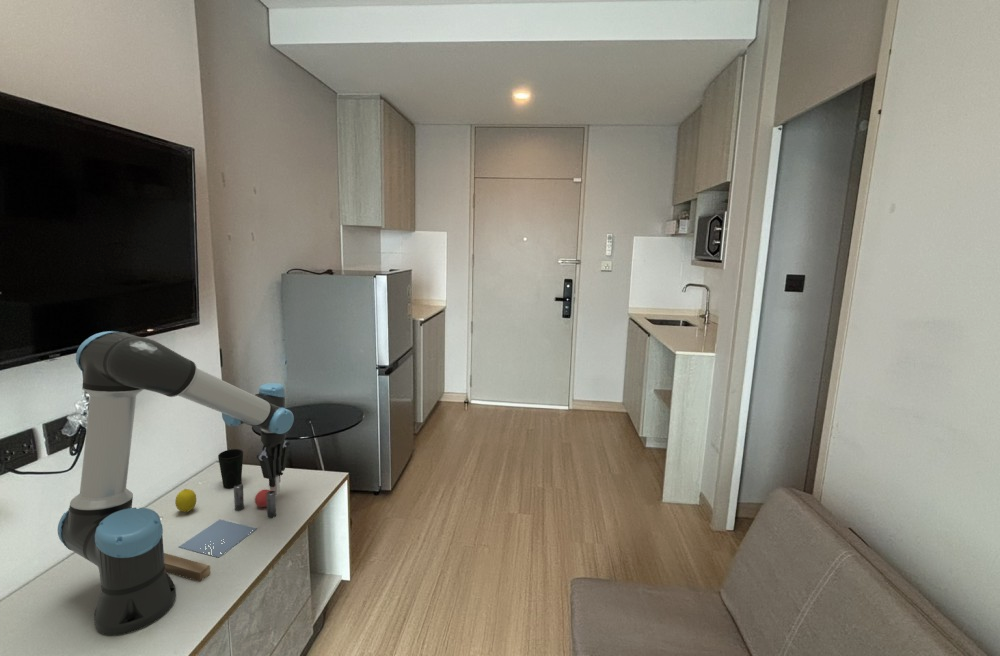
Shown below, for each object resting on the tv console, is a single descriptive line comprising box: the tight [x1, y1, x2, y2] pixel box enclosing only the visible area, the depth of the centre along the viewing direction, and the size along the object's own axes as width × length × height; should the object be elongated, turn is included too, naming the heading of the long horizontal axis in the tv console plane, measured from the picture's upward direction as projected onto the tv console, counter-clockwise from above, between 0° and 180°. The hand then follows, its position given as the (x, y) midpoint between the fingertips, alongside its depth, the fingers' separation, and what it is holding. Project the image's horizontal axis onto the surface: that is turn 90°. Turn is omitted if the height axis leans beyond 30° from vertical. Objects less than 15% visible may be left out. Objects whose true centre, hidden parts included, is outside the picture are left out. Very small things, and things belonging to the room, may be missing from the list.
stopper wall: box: [164, 552, 211, 582], centre depth 121 cm, size 3×20×2 cm, turn 76°
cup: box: [217, 448, 244, 490], centre depth 162 cm, size 8×8×12 cm
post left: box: [233, 483, 245, 512], centre depth 148 cm, size 3×3×8 cm
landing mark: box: [178, 519, 258, 559], centre depth 134 cm, size 14×14×1 cm
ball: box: [254, 489, 270, 508], centre depth 151 cm, size 6×6×6 cm
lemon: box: [174, 488, 197, 513], centre depth 145 cm, size 6×6×8 cm
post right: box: [266, 491, 277, 519], centre depth 145 cm, size 3×3×8 cm
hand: (275, 493), depth 156 cm, fingers closed
